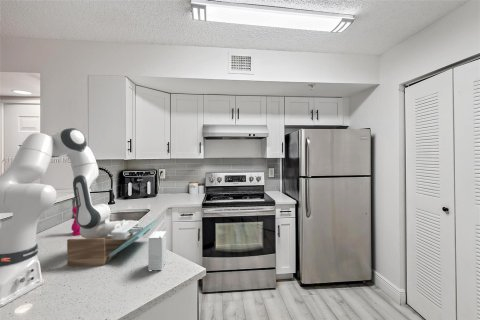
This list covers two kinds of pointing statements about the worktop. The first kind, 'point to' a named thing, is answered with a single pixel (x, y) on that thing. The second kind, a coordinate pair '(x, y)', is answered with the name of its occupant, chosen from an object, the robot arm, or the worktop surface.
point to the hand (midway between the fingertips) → (142, 229)
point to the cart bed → (92, 250)
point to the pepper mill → (75, 224)
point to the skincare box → (157, 250)
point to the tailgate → (133, 238)
